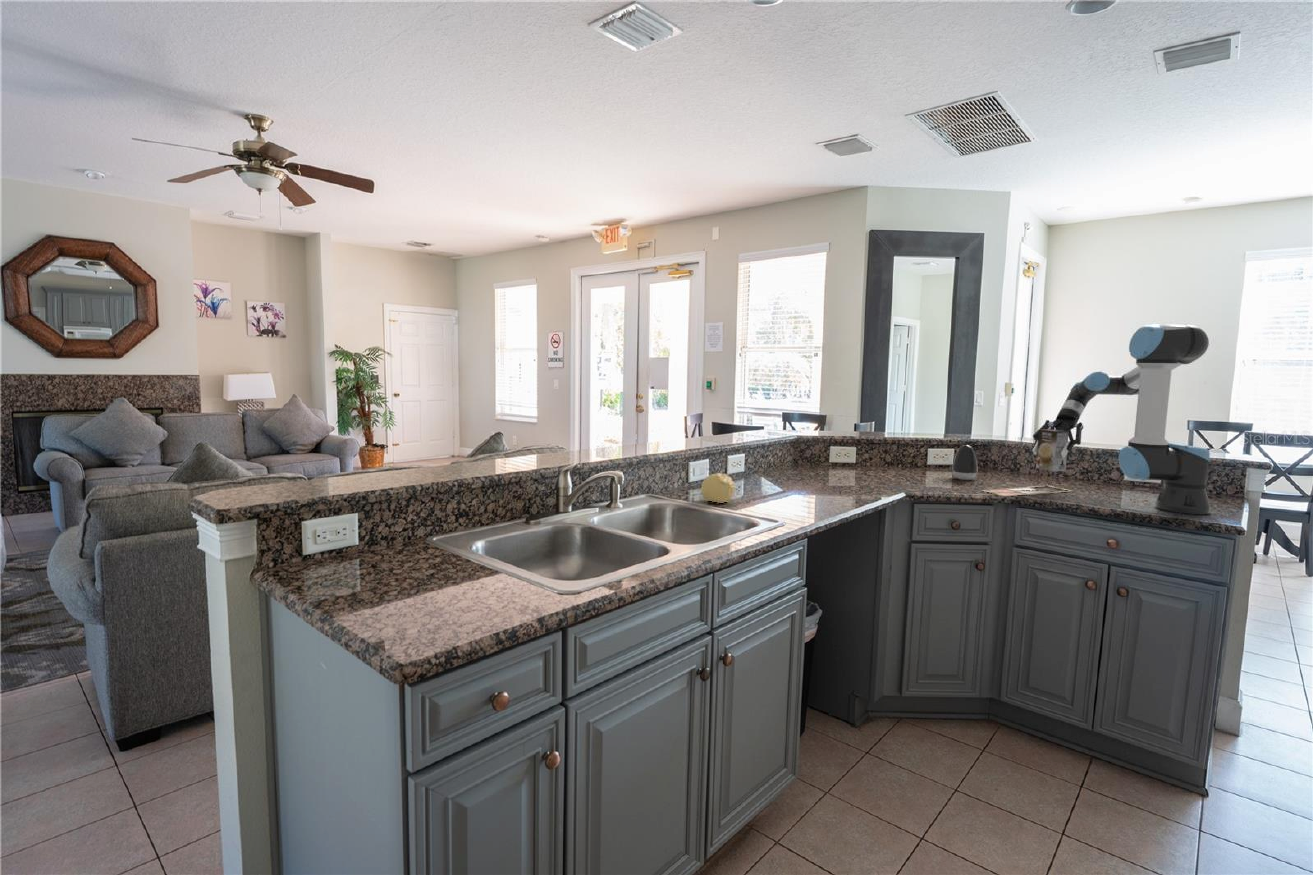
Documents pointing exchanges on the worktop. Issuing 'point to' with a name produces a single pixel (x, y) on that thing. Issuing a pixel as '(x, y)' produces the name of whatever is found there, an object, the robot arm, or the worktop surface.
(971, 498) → the worktop surface
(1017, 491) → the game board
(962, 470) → the dark grey dome speaker
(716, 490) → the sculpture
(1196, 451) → the robot arm
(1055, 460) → the coffee box
